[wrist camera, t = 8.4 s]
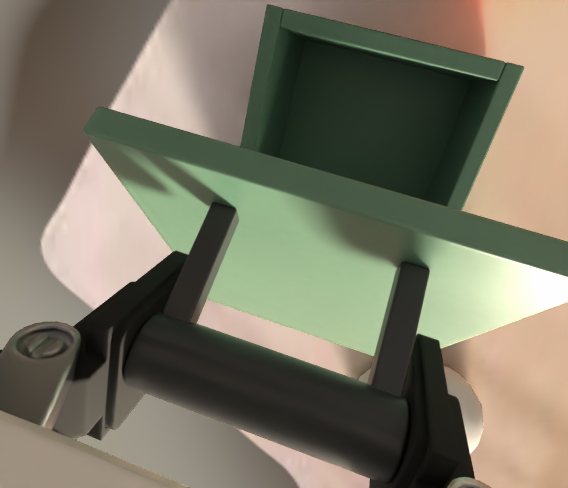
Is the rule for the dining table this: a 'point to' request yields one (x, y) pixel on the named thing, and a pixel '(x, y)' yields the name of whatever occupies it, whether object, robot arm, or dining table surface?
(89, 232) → the dining table surface
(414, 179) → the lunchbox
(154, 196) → the lid
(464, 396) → the donut
